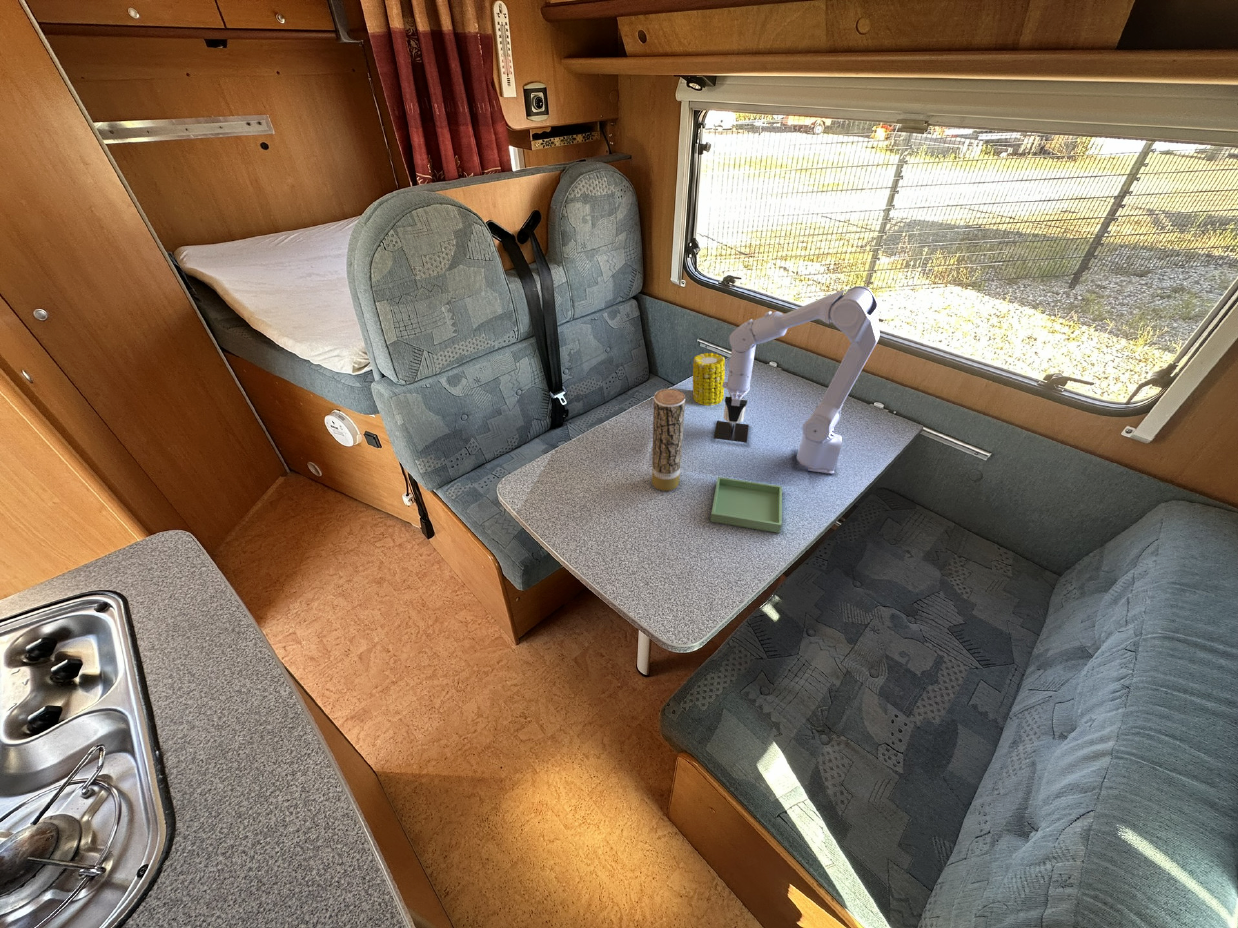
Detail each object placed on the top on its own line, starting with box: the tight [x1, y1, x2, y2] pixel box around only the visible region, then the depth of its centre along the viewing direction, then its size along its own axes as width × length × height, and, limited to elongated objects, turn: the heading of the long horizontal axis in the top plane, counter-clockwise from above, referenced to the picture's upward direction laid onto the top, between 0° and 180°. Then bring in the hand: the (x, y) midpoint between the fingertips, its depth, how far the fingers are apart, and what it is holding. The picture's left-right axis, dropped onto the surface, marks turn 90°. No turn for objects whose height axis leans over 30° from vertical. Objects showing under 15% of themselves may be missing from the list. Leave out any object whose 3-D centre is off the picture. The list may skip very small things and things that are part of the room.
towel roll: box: [723, 398, 747, 424], centre depth 133 cm, size 5×5×5 cm
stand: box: [713, 420, 750, 444], centre depth 136 cm, size 9×9×8 cm
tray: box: [710, 476, 783, 534], centre depth 114 cm, size 15×13×2 cm
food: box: [692, 352, 726, 407], centre depth 148 cm, size 15×12×10 cm
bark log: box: [651, 388, 686, 492], centre depth 115 cm, size 7×7×25 cm
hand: (734, 414), depth 134 cm, fingers closed on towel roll, 5 cm apart
